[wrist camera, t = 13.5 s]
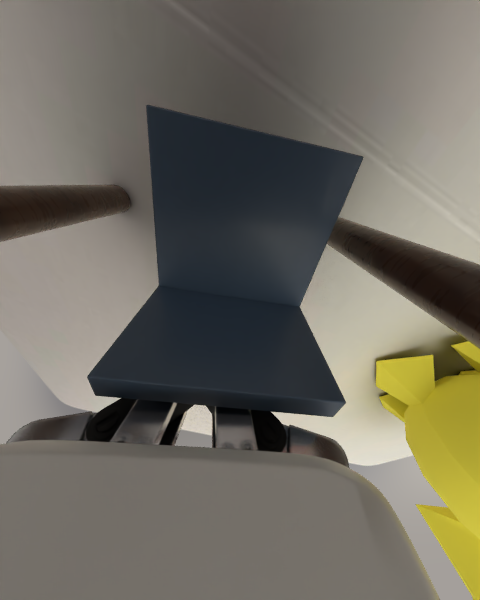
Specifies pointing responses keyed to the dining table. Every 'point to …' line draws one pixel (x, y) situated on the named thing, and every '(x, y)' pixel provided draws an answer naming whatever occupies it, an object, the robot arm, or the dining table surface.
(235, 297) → the chair
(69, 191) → the side table
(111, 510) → the robot arm
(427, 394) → the piggy bank
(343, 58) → the dining table surface
